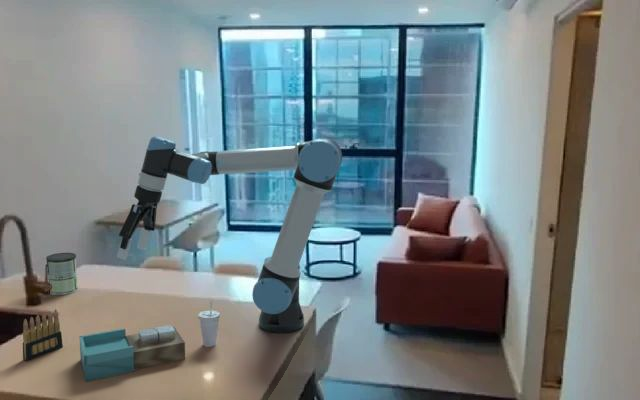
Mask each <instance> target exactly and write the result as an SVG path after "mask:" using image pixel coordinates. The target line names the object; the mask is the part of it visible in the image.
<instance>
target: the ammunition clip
mask: <svg viewBox="0 0 640 400" xmlns="http://www.w3.org/2000/svg"><path fill="white" fill-rule="evenodd" d="M60 324H61V323H60V318H59V312H58V310H57V309H56V308H55V309H54V312H53V315H52V312H51V311H50V310H49V311H48V315H47V317H46V314H45V312H43V313H42V315H41V318H40V316H39V315H38V314H36V317H35V320H34V317H33V316H30V319H29V323H28V321H27V319H26V318H24V320H23V326H22V327H23V328H22V330H23V332H22V339H23V340H22V360H23V361H25V362H29V361H31V360H34V359H37V358H40V357H42V356H44V355H47V354H50V353H52V352H55V351H57V350H60V349H62V348H63V347H64V345H63V335H62V331H61V325H60Z"/></svg>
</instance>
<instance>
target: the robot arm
mask: <svg viewBox="0 0 640 400" xmlns="http://www.w3.org/2000/svg"><path fill="white" fill-rule="evenodd" d="M176 146H177V144H176V142H175V141H174V140H171V139H169V138H164V137H161V136H156V135H155V136H152V137H151V138H150V139H149V141H148V145H147V148H146V150H145V156H144V159H143V163H142V168H141V170H140V173H138V176H139V178H138V181H137V183H138V185H137V186H136V188H135V191H134V195H133V197H134V198H135V199H136V200H138V201H137V204H135V203H133V204H132V205H131V208H130V211H129V212H128V215H127V216H126V218H125V221H124V223H123V225H122V228H121V230H120V231H119V233H118V237H121V240H120V243H119V246H118V250H117V254H116V258H118V259H120V260H124V261H126V260H127V259H128V255H129V251H130V248H131V245H132V242H133V241H132V240H133V238H132V236H133V235H134V233H135V232H136V230H137V228H138V226H139V224H141V223H140V222H142V224H143V228H141V231H140V235H139V238H138V241H137V245H136V248H137V249H138V250H142V251H146V249H147V245H148V242H149V240H150V236H151V231H152V232H154V231H155V230H156V223H157V222H156V221H157V211H158V210H157V209H158V204H159V203H160V201H161V198H162V195H163V192H162V191H163V190H164V189H165V185H166V181H167V178H168V174H169V175H172V176H175V177H178V178H180V179H184V180H187V181H189V182H191V183H195V184H199V185H200V184H201V185H204V184H206V183H207V182H208V180H209V179H210V176H218V175H230V174H231V175H232V174H235V175H236V174H247V173H248V174H249V173H250V174H251V173H263V172H264V173H267V172H281V171H282V172H285V171H294V174H293V180H294V182H295V187H294V190H293V194H292V196H291V198H290V202H289V205H288V208H287V212H286V213H285V217H284V220H283V222H282V225H281V227H280V232H279V234H278V237H277V238H276V239H277V240H276V243H275V245H274V249H273V251H272V254H271V256H268V257H266V258H264V261H263V262H264V263H263V265H262V268H261V270H260V273H259V277H258V279H257V281H256V282H255V283H254V285H253V288H252V296H251V297H252V300H253V303H254V305H255V306H256V308H258V309H259V310H260V313H259V317H258V327H259V328H260V329H262V330H264V331H267V332H270V333H277V334H284V333H293V332H296V331H298V330H300V329H302V328H303V327H304V325H305V317H304V313H303V311H302V307H301V304H300V277H301V275H302V274H301V270H300V269H301V265H300V262H301V259H302V256H303V255H304V252H305V249H306V246H307V243H308V240H309V237H310V234H311V231H312V228H313V226H314V224H315V221H316V219H317V215H318V212H319V209H320V206H321V204H322V201H323V198H324V195H325V194H327V193H329V192H331V191H332V189H333V185H334V183H335V180H336V177H337V175H338V172H339V170H340V167H341V165H342V162H343V153H342V152H343V151H342V149H341V147H340V145H339V144H338V143H337V142H336V141H334V140H332V139H330V138H327V137H319V138H315V139H312V140H308V141H303V142H302V141H301V142H297V143H296V145H289V146H288V145H287V146H276V147H275V146H274V147H259V148H245V149H233V150H232V149H230V150H218V151H217V150H216V151H200V152H198V153H192V154H191V153H187V152H185V151H181V150H179V149H176Z"/></svg>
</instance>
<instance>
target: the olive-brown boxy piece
mask: <svg viewBox="0 0 640 400" xmlns="http://www.w3.org/2000/svg"><path fill="white" fill-rule="evenodd" d="M173 328H174V329H175V339H170V340H165V341H159V340H158V342H154V343H149V344H144V345H142V344H141V342H140V340H139V333H135V334H129V335H126V339H127V342H128V344H129V346H133V356H134V371H135V370H139V369H144V368H149V367H153V366H159V365H162V364H168V363H172V362H177V361H181V360H186V342H185V340H184V339H183V337H182V336H181V335H180V332H178V330H177V328H176V327H175V326H173Z"/></svg>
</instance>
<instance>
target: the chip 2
mask: <svg viewBox="0 0 640 400" xmlns="http://www.w3.org/2000/svg"><path fill="white" fill-rule="evenodd" d="M173 327H174V326H173V325H172V324H166V325H161V326H156V327H155V329H156V331H157V332H158V340H159V341H165V340H170V339H175V329H176V328H175V329H174V328H173Z"/></svg>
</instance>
